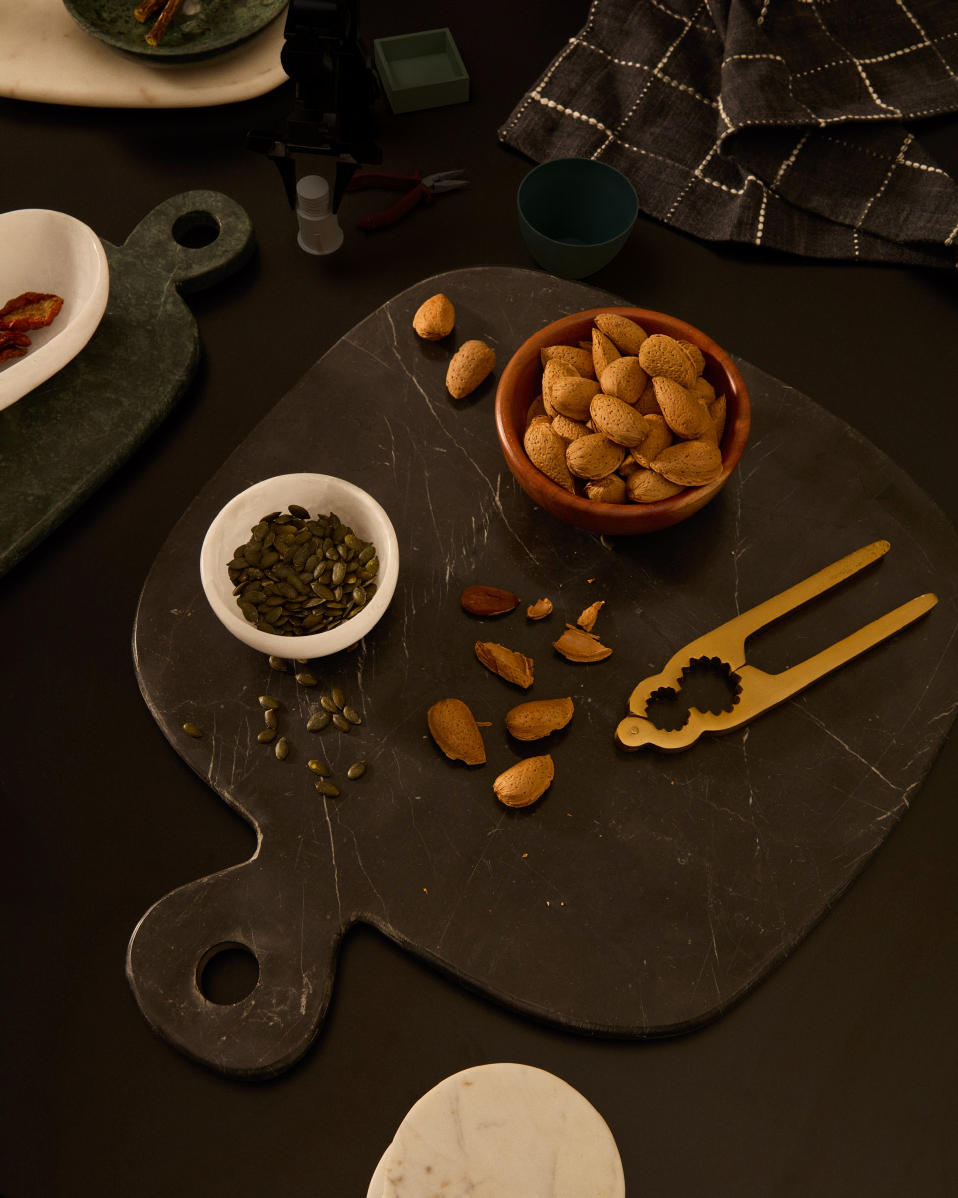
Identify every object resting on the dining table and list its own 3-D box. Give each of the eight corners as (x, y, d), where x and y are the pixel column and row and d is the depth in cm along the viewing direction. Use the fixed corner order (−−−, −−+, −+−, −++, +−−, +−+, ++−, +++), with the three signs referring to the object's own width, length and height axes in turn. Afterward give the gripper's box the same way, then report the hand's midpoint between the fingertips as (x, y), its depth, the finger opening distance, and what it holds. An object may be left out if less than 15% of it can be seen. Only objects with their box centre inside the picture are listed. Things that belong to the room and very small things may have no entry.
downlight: (344, 258, 148) (337, 206, 139) (297, 259, 147) (287, 208, 138) (343, 218, 151) (336, 165, 142) (298, 220, 151) (288, 167, 142)
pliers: (479, 205, 161) (479, 192, 158) (362, 235, 157) (361, 222, 155) (455, 159, 165) (455, 146, 163) (342, 187, 162) (340, 174, 160)
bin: (375, 63, 175) (373, 39, 171) (448, 51, 177) (448, 27, 173) (393, 114, 170) (392, 90, 165) (468, 101, 172) (469, 77, 167)
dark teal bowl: (646, 252, 157) (661, 191, 146) (585, 322, 151) (595, 264, 140) (554, 202, 162) (561, 139, 151) (490, 268, 155) (493, 207, 144)
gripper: (235, 78, 130) (234, 204, 135) (374, 91, 130) (368, 217, 135) (257, 90, 140) (256, 207, 146) (385, 102, 140) (380, 218, 145)
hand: (313, 212), depth 143 cm, fingers closed on downlight, 6 cm apart
